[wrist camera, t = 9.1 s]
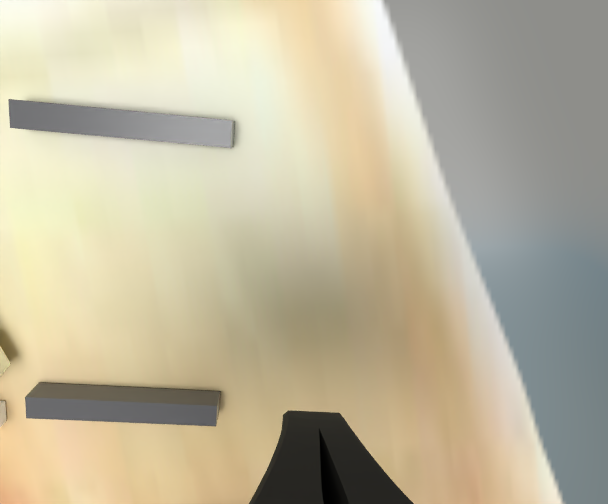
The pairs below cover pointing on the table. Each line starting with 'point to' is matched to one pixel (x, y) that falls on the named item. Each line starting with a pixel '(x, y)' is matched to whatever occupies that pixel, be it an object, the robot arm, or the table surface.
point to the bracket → (2, 413)
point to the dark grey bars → (117, 399)
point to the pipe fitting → (3, 362)
